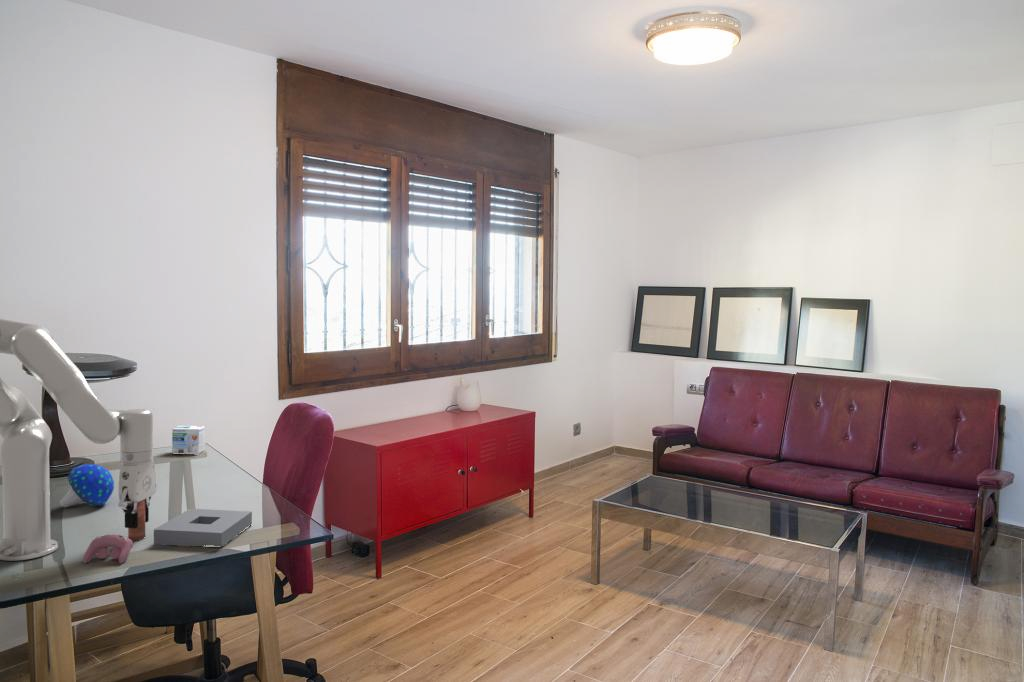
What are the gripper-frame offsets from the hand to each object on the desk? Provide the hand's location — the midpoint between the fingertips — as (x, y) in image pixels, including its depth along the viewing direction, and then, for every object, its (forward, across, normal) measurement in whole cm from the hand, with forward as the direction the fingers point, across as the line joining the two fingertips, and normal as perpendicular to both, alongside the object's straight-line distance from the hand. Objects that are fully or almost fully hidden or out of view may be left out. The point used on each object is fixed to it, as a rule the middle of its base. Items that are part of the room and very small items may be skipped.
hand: (136, 523), depth 183 cm
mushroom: (+4, +24, +30) cm, 39 cm away
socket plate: (+4, +5, -16) cm, 17 cm away
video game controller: (+4, -15, -2) cm, 16 cm away
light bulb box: (+4, +95, +37) cm, 102 cm away
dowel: (+4, 0, 0) cm, 4 cm away
